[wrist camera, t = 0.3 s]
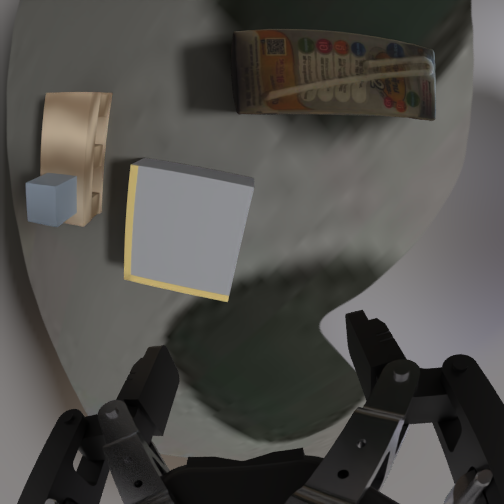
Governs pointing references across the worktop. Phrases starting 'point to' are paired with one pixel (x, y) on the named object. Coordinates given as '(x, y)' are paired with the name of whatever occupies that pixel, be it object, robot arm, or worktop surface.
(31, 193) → the pale blue cube
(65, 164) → the tan rectangular block
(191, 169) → the dock
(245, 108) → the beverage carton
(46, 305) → the worktop surface
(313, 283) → the worktop surface
